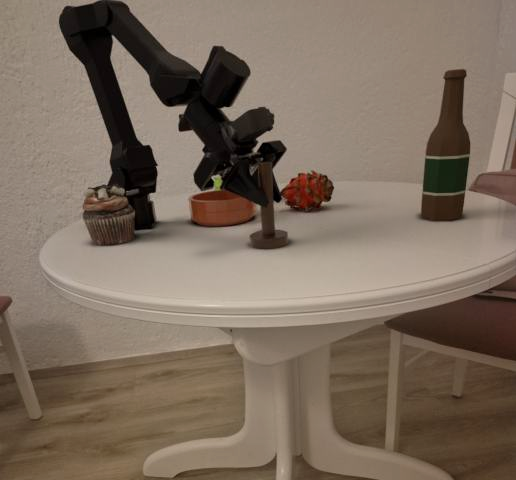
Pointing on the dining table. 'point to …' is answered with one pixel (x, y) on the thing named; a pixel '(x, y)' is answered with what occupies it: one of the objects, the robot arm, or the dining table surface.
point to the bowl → (220, 208)
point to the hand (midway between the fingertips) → (273, 203)
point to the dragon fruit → (308, 191)
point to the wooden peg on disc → (267, 214)
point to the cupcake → (108, 215)
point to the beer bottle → (447, 155)
